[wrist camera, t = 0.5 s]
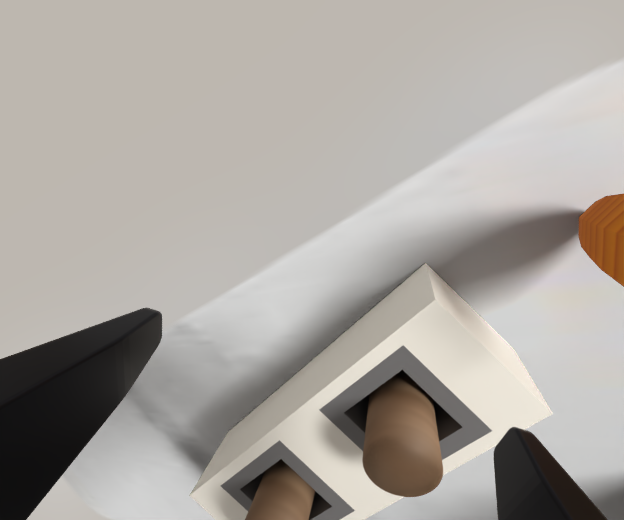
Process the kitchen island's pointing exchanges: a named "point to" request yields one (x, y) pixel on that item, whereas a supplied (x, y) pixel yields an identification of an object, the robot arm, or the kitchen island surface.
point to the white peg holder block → (355, 398)
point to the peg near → (402, 439)
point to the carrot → (605, 235)
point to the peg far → (281, 495)
